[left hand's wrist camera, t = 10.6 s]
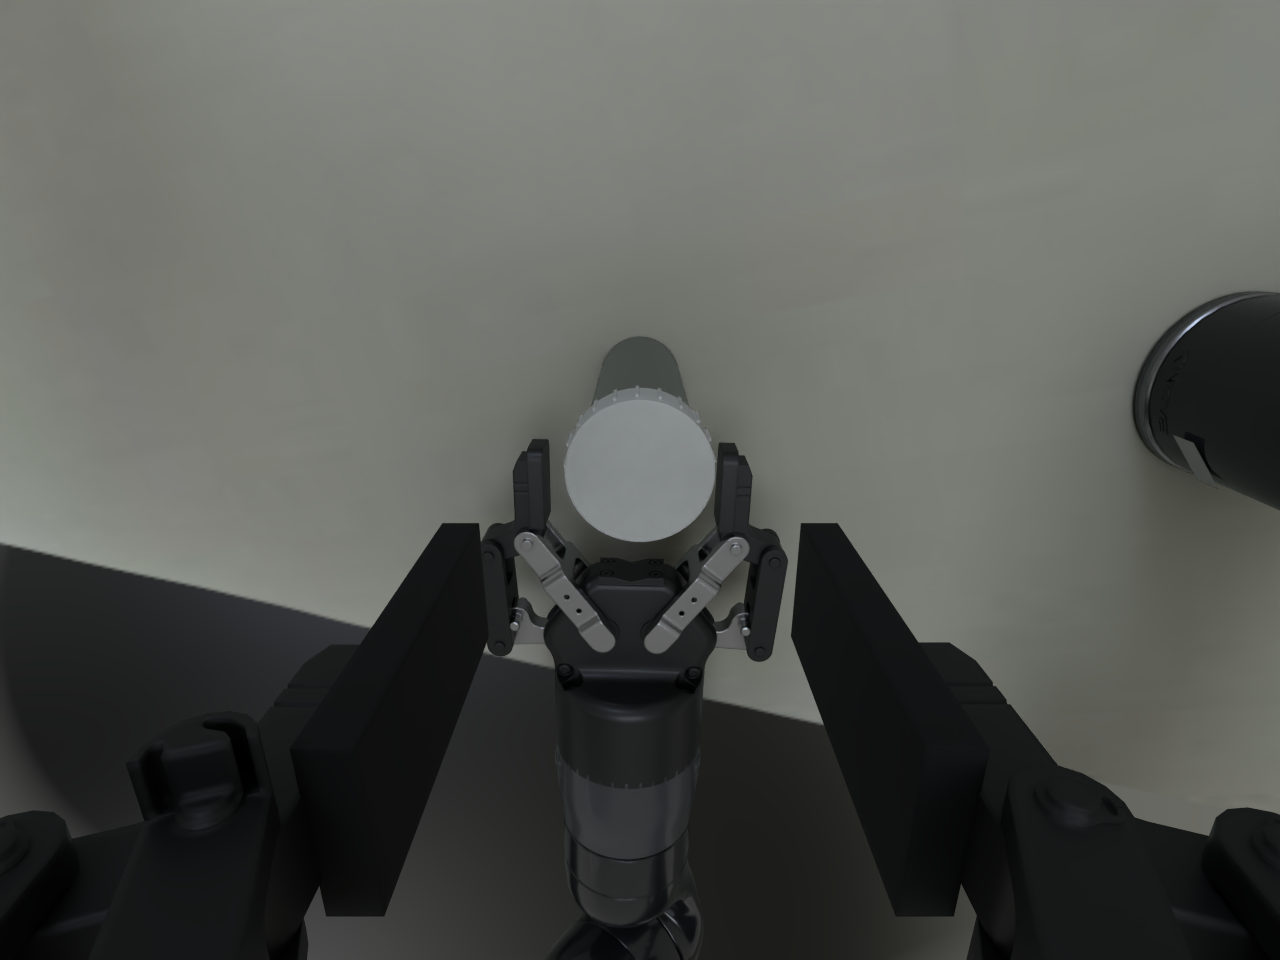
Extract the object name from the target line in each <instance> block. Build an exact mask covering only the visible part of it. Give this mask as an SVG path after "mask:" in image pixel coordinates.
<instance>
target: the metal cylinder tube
mask: <svg viewBox="0 0 1280 960" xmlns="http://www.w3.org/2000/svg"><path fill="white" fill-rule="evenodd" d="M636 386H639V388H650V389H656V390H658V388H661V390H662V391H663V392H666V393H668V394H671V395H673V396H675V397H677V398H678V397H681V398H682V401H683V402H684V403H685V404H686V405H688V406H689V404H688V400H687V397H686V393H685V390H684V386H683V383H682V379H681V376H680V372H679V368H678V365H677V362H676V359H675V358H674V356H673V354H672V353H671V351H670V350H669V349H668V348H667V347H666V346H665V345H663V344H662V343H660V342H659V341H657V340H655V339H652V338H648V337H632V338H628V339H625V340H623V341H621V342H619V343H618V344H617V345H615V346H614V347H613V348H612V349H611V350H610V351H609V353H608V354H607V356H606V357H605V360H604V362H603V365H602V369H601V372H600V376H599V379H598V383H597V386H596V390H595V394H594V397H593V401H592V404H591V406H592V405H593V404H594V401H595V400H596V399H597V400H598V401H599V400H600V399H602V398H603V397H605V396H607V395H609V394H611V393H613V392H614V390H616V389H617V391H620V390H624V389H629V388H636Z"/></svg>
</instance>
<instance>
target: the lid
mask: <svg viewBox="0 0 1280 960" xmlns="http://www.w3.org/2000/svg"><path fill="white" fill-rule="evenodd" d="M711 441H712V440H711V437H710V434H709V431H708V428H707V429H705V428H704V426H703V424H702V422H701V420H700V418H699V415H698V412H697V411H696V410H695V411H693V410H692V409H691V408H690V407H689V406H688V405H686V404H685V403H684V402H683V401H682V398H681V397H678V398H677V397H675V396H673V395H671V394H668V393H666V392H663V391H662V390H661V388H658V390H656V389H650V388H639V386H636V388H629V389H624V390H620V391H617V389H616V390H614V392H613V393H611V394H609V395H607V396H605V397H603V398H602V399H600V400H599V401H598V400H597V399H596V400H595V401H594V404H593V405H592V406H591V407H590V408H589V409H588V410H587V411H586V412H585V414H584V415H582V414H581V415H580V416H579V419H578V422H577V425H576V428H575V430H574V433H570V436H569V439H568V442H567V445H566V446H567V447H568V451H567V455H566V458H565V461H564V464H563V468H565V482H566V487H567V491H568V494H569V496H570V498H571V501H572V503H573V504H574V506H575V508H576V509H577V511H578V512H579V513H580V515H581V516H582V517H583V518H584V519H585V520H586V521H587V522H588V523H589V524H590V525H592V526H593V527H594V528H596V529H597V530H599V531H601V532H602V533H604V534H606V535H609V536H611V537H613V538H617V539H620V540H624V541H631V542H649V541H655V540H660V539H663V538H666V537H669V536H672V535H674V534H676V533H678V532H679V531H681V530H683V529H684V528H686V527H687V526H688V525H689V524H691V523H692V522H693V521H694V520H695V519H696V518H697V517H698V516H699V515H700V513H701V512H702V511H703V509H704V508H705V506H706V504H707V503H708V501H709V499H710V496H711V493H712V491H713V487H714V484H715V472H716V470H715V463H717V460H716V457H715V454H714V451H713V449H712V448H711V445H710V442H711Z"/></svg>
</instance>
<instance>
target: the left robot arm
mask: <svg viewBox="0 0 1280 960" xmlns="http://www.w3.org/2000/svg"><path fill="white" fill-rule="evenodd" d="M488 637H489V632H488V620H487V609H486V598H485V586H484V575H483V564H482V552H481V541H480V530H479V523H442V525H441V526H440V528H439V529H438V531H437V532H436V534H435V535H434V537H433V538H432V539H431V541H430V542H429V544H428V545H427V547H426V548H425V550H424V551H423V553H422V554H421V556H420V557H419V559H418V560H417V562H416V563H415V565H414V566H413V567H412V569H411V570H410V572H409V573H408V575H407V576H406V578H405V579H404V581H403V582H402V584H401V585H400V587H399V588H398V590H397V591H396V593H395V594H394V596H393V597H392V598H391V600H390V601H389V603H388V604H387V606H386V607H385V609H384V610H383V612H382V613H381V615H380V616H379V618H378V619H377V621H376V622H375V624H374V625H373V626H372V628H371V629H370V631H369V632H368V634H367V635H366V637H365V638H364V640H363V641H362V643H361V644H360V645H330V646H328V647H327V648H326V649H324V650H323V651H321V652H320V653H318V654H317V655H315V656H314V657H312V658H311V659H310V660H308V661H307V662H305V663H304V664H303V666H302V667H301V668H300V669H299V671H298V672H297V673H296V675H295V676H294V677H293V678H292V680H291V681H290V682H289V684H288V688H287V689H284V690H283V691H282V693H281V694H280V695H279V696H278V698H277V699H276V700H275V701H274V706H273V707H270V708H269V709H268V710H267V712H266V713H265V714H264V716H263V717H262V718H261V719H260V721H259V722H258V723H257V722H256V721H255V720H254V719H252V718H251V717H250V716H249V715H247V714H243V713H238V712H233V711H223V712H212V713H205V714H202V715H198V716H195V717H192V718H188V719H185V720H182V721H180V722H178V723H176V724H174V725H172V726H170V727H168V728H166V729H163V730H161V731H159V732H158V733H156V734H155V735H154V736H152V737H151V738H150V739H148V740H147V741H146V742H144V743H143V744H142V745H140V746H139V747H138V748H137V749H136V751H135V752H134V753H133V755H132V756H131V757H130V759H129V760H128V761H127V763H126V766H127V769H128V772H129V775H130V778H131V781H132V784H133V787H134V790H135V793H136V796H137V799H138V802H139V806H140V808H141V812H142V815H143V818H144V821H142V822H139V823H136V824H132V825H128V826H124V827H120V828H116V829H112V830H107V831H103V832H99V833H95V834H90V835H86V836H82V837H78V838H73V839H72V838H71V835H70V832H69V830H68V827H67V824H66V822H65V820H64V819H62V818H61V817H60V816H58V815H57V814H56V813H54V812H47V811H28V812H23V813H18V814H13V815H8V816H5V817H2V818H0V960H307V952H308V939H307V931H306V926H305V922H304V916H305V914H306V912H307V910H308V908H309V905H310V903H311V901H312V899H313V897H314V895H315V893H316V891H317V889H318V887H319V886H320V890H321V894H322V899H323V904H324V908H325V913H326V916H384V915H385V913H386V910H387V907H388V905H389V902H390V899H391V897H392V894H393V891H394V889H395V886H396V883H397V881H398V878H399V875H400V873H401V870H402V867H403V865H404V862H405V859H406V857H407V854H408V851H409V849H410V846H411V843H412V841H413V838H414V835H415V833H416V830H417V827H418V825H419V822H420V819H421V816H422V814H423V811H424V808H425V806H426V803H427V800H428V798H429V795H430V792H431V790H432V787H433V784H434V782H435V779H436V776H437V774H438V771H439V768H440V766H441V763H442V760H443V758H444V755H445V752H446V750H447V747H448V744H449V742H450V739H451V736H452V734H453V731H454V728H455V726H456V723H457V720H458V718H459V715H460V712H461V710H462V707H463V704H464V702H465V699H466V696H467V693H468V691H469V688H470V685H471V683H472V680H473V677H474V675H475V672H476V669H477V667H478V664H479V661H480V659H481V656H482V653H483V651H484V648H485V645H486V643H487V640H488ZM791 637H792V640H793V643H794V645H795V648H796V651H797V653H798V656H799V659H800V661H801V664H802V667H803V669H804V672H805V675H806V677H807V680H808V683H809V685H810V688H811V691H812V693H813V696H814V699H815V702H816V704H817V707H818V710H819V712H820V715H821V718H822V720H823V723H824V726H825V728H826V731H827V733H828V736H829V739H830V742H831V744H832V747H833V750H834V752H835V755H836V758H837V760H838V763H839V766H840V768H841V771H842V774H843V776H844V779H845V782H846V784H847V787H848V790H849V792H850V795H851V798H852V800H853V803H854V806H855V808H856V811H857V814H858V817H859V819H860V822H861V824H862V827H863V830H864V833H865V835H866V838H867V841H868V843H869V846H870V849H871V851H872V854H873V856H874V859H875V862H876V865H877V867H878V870H879V873H880V875H881V878H882V881H883V883H884V886H885V889H886V891H887V894H888V897H889V899H890V902H891V905H892V907H893V910H894V913H895V915H896V916H954V913H955V908H956V904H957V899H958V894H959V890H960V885H961V884H962V886H963V888H964V890H965V892H966V894H967V896H968V898H969V900H970V902H971V904H972V906H973V908H974V910H975V912H976V914H977V918H976V922H975V926H974V930H973V935H972V939H971V943H970V947H969V952H968V956H967V960H1280V815H1279V814H1276V813H1273V812H1268V811H1263V810H1258V809H1253V808H1235V809H1227V810H1226V811H1224V812H1223V813H1221V814H1220V815H1219V816H1217V817H1216V819H1215V822H1214V824H1213V827H1212V830H1211V832H1210V835H1209V836H1206V835H1202V834H1198V833H1194V832H1190V831H1185V830H1181V829H1177V828H1173V827H1168V826H1164V825H1160V824H1156V823H1151V822H1147V821H1144V820H1141V819H1138V818H1135V817H1134V816H1133V815H1132V813H1131V812H1130V810H1129V809H1128V807H1127V806H1126V804H1125V803H1124V802H1123V801H1122V800H1121V799H1120V798H1119V797H1118V796H1116V795H1115V794H1114V793H1113V792H1112V791H1111V790H1109V789H1108V788H1107V787H1106V786H1104V785H1102V784H1101V783H1099V782H1097V781H1095V780H1093V779H1092V778H1090V777H1088V776H1086V775H1084V774H1082V773H1079V772H1076V771H1073V770H1070V769H1067V768H1064V767H1061V766H1058V765H1057V764H1056V762H1055V761H1054V760H1053V758H1052V757H1051V756H1050V755H1049V753H1048V752H1047V751H1046V750H1045V748H1044V747H1043V746H1042V744H1041V743H1040V742H1039V741H1038V739H1037V738H1036V737H1035V735H1034V734H1033V733H1032V732H1031V730H1030V729H1029V728H1028V727H1027V725H1026V724H1025V723H1024V721H1023V720H1022V719H1021V718H1020V716H1019V715H1018V714H1017V713H1016V711H1015V710H1014V709H1013V707H1012V706H1011V705H1010V704H1007V702H1006V701H1007V700H1006V698H1005V697H1004V696H1003V695H1002V693H1001V692H1000V691H999V690H998V688H997V687H996V686H993V682H992V681H991V679H990V678H989V677H988V676H987V674H986V673H985V672H984V670H983V669H982V668H981V667H980V665H979V664H978V663H977V661H976V660H974V659H973V658H971V657H970V656H968V655H967V654H965V653H964V652H962V651H961V650H959V649H958V648H957V647H955V646H954V645H952V644H951V643H918V641H917V640H916V638H915V637H914V635H913V634H912V632H911V631H910V629H909V628H908V626H907V625H906V624H905V622H904V621H903V619H902V618H901V616H900V615H899V613H898V612H897V610H896V609H895V607H894V606H893V604H892V603H891V601H890V600H889V598H888V597H887V596H886V594H885V593H884V591H883V590H882V588H881V587H880V585H879V584H878V582H877V581H876V579H875V578H874V576H873V575H872V573H871V572H870V570H869V569H868V567H867V566H866V565H865V563H864V562H863V560H862V559H861V557H860V556H859V554H858V553H857V551H856V550H855V548H854V547H853V545H852V544H851V542H850V541H849V539H848V538H847V537H846V535H845V534H844V532H843V531H842V529H841V528H840V526H839V525H838V523H801V530H800V541H799V552H798V564H797V575H796V586H795V598H794V609H793V620H792V632H791Z"/></svg>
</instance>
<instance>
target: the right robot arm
mask: <svg viewBox="0 0 1280 960" xmlns="http://www.w3.org/2000/svg"><path fill="white" fill-rule="evenodd" d="M1135 417H1136V422H1137V426H1138V429H1139V432H1140V435H1141V437H1142V439H1143V441H1144V442H1145V444H1146V445H1147V447H1148V448H1149V449H1150V450H1151V451H1152V452H1153V453H1154V454H1155V455H1156V456H1157V457H1158V458H1160V459H1161V460H1163V461H1164V462H1166V463H1168V464H1170V465H1172V466H1174V467H1177V468H1179V469H1181V470H1184V471H1186V472H1189V473H1192V474H1194V475H1195V477H1196V478H1197V480H1199V481H1201V482H1203V483H1205V484H1208V485H1210V486H1212V487H1214V488H1217V486H1216V484H1215V482H1216V483H1219V484H1221V485H1223V486H1225V487H1227V488H1229V489H1232V490H1234V491H1236V492H1239V493H1241V494H1243V495H1245V496H1248V497H1250V498H1252V499H1255V500H1257V501H1259V502H1262V503H1264V504H1266V505H1268V506H1271V507H1273V508H1275V509H1278V510H1280V293H1273V292H1261V291H1254V292H1243V293H1237V294H1232V295H1228V296H1225V297H1222V298H1219V299H1217V300H1214V301H1212V302H1210V303H1208V304H1206V305H1204V306H1202V307H1200V308H1198V309H1197V310H1195V311H1193V312H1192V313H1190V314H1189V315H1188V316H1186V317H1185V318H1184V319H1182V320H1181V321H1180V322H1179V323H1178V324H1176V325H1175V326H1174V327H1173V328H1172V329H1171V330H1170V331H1169V332H1168V333H1167V334H1166V335H1165V336H1164V338H1163V339H1162V340H1161V341H1160V342H1159V344H1158V345H1157V346H1156V348H1155V349H1154V351H1153V352H1152V354H1151V355H1150V357H1149V359H1148V361H1147V363H1146V365H1145V366H1144V369H1143V371H1142V374H1141V376H1140V379H1139V382H1138V386H1137V391H1136V397H1135ZM513 483H514V485H513V486H514V508H515V520H514V521H512V522H509V523H506V524H501V523H495V524H493V525H491V526H490V527H489V528H488V530H487V532H486V534H485V535H484V537H483V539H482V541H481V552H482V564H483V575H484V586H485V598H486V609H487V620H488V632H489V637H488V640H487V646H488V649H489V651H490V652H491V653H492V654H494V655H497V656H505V655H507V654H509V653H510V652H511V650H512V648H513V644H546V646H547V648H548V649H549V650H550V652H551V654H552V656H553V658H554V662H555V688H556V726H557V747H556V752H555V762H556V768H557V769H558V782H559V790H560V795H561V800H562V804H563V812H564V859H565V869H566V876H567V882H568V886H569V889H570V892H571V894H572V897H573V899H574V901H575V902H576V904H577V905H578V907H579V908H580V909H581V910H582V911H583V913H582V914H581V915H580V916H579V917H578V918H577V919H576V921H575V922H574V923H573V924H572V925H571V926H570V927H569V928H568V930H567V931H566V932H565V933H564V934H563V935H562V936H561V937H560V939H559V940H558V941H557V942H556V943H555V944H554V945H553V947H552V948H551V949H550V951H549V952H548V954H547V955H546V957H545V959H544V960H697V957H698V954H699V951H700V948H701V944H702V940H703V934H704V915H703V910H702V906H701V903H700V899H699V896H698V893H697V889H696V885H695V881H694V877H693V874H692V871H691V868H690V866H689V862H688V847H689V831H690V814H691V807H692V803H693V799H694V795H695V790H696V785H697V777H698V772H699V768H700V762H701V753H700V750H699V745H700V731H701V715H702V699H703V683H704V668H705V663H706V660H707V658H708V657H709V655H710V654H711V653H712V651H713V650H714V648H715V647H716V648H729V649H742V650H747V654H748V656H749V657H750V659H752V660H754V661H757V662H761V661H765V660H767V659H768V658H769V657H770V656H771V654H772V650H773V645H774V639H775V633H776V627H777V622H778V616H779V610H780V604H781V599H782V593H783V587H784V581H785V576H786V570H787V564H788V559H787V556H786V554H785V552H784V550H783V549H782V547H781V545H780V540H779V538H778V535H777V534H776V532H775V531H773V530H771V529H762V530H761V529H758V528H755V527H753V526H751V525H750V524H749V512H750V500H751V487H752V473H751V470H750V468H749V465H748V462H747V460H746V458H745V456H742V455H739V453H738V450H737V448H736V445H735V443H719V446H718V459H717V475H716V491H715V507H714V516H715V520H716V524H717V525H716V526H715V527H714V528H713V529H712V530H711V532H710V533H709V534H708V535H707V536H706V537H705V538H704V539H703V540H702V541H701V542H700V543H699V544H698V545H694V546H692V547H691V548H690V549H689V551H688V552H687V553H686V554H685V555H684V556H683V557H682V558H681V559H680V560H679V562H678V563H677V564H676V565H675V566H674V567H672V566H670V565H667V564H664V559H645V560H640V561H636V562H629V561H625V560H621V559H618V558H600V562H598V563H594V564H592V565H590V564H589V563H588V561H587V560H586V559H585V558H584V557H583V555H582V554H581V553H580V552H579V551H578V550H577V548H576V547H575V546H574V545H573V544H572V543H571V542H567V541H566V540H564V538H563V537H562V536H561V535H560V534H559V532H558V531H557V530H556V529H555V528H554V526H553V525H552V524H551V523H550V522H549V520H548V517H549V515H550V512H551V499H550V461H549V441H548V439H533V440H532V441H531V443H530V445H529V447H528V449H527V451H522V453H521V455H520V456H519V458H518V460H517V462H516V464H515V467H514V470H513ZM1217 489H1218V488H1217ZM518 555H521V556H522V558H523V559H524V560H525V561H526V562H527V563H528V564H529V566H530V567H531V568H532V569H533V570H534V571H535V573H536V574H537V575H538V576H539V578H540V580H541V584H542V586H543V588H544V590H545V591H546V592H547V593H548V595H549V596H550V597H551V598H552V599H553V600H554V601H555V603H556V605H555V606H554V607H553V608H552V610H551V611H550V612H549V614H548V616H547V618H543V617H540V616H538V615H536V614H535V612H534V611H533V608H532V605H531V604H530V602H529V601H528V600H527V599H526V598H523V597H522V598H519V596H518V587H517V578H516V570H515V561H514V557H515V556H518ZM742 560H745V561H748V562H750V566H749V573H748V579H747V586H746V593H745V599H744V604H743V603H740V602H739V603H737V604H736V605H735V606H733V607H732V608H731V610H730V612H729V615H728V617H727V618H726V619H724V620H722V621H719V622H715V621H714V619H713V617H712V615H711V614H710V612H709V611H708V610H707V608H706V607H705V606H706V605H707V604H708V603H709V602H710V601H711V600H712V599H713V598H714V596H715V595H716V594H717V593H718V591H719V590H720V587H721V584H722V582H723V581H724V579H725V578H726V577H727V576H728V575H729V574H730V573H731V572H732V571H733V570H734V569H735V568H736V567H737V566H738V565H739V564H740V562H741V561H742Z"/></svg>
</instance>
